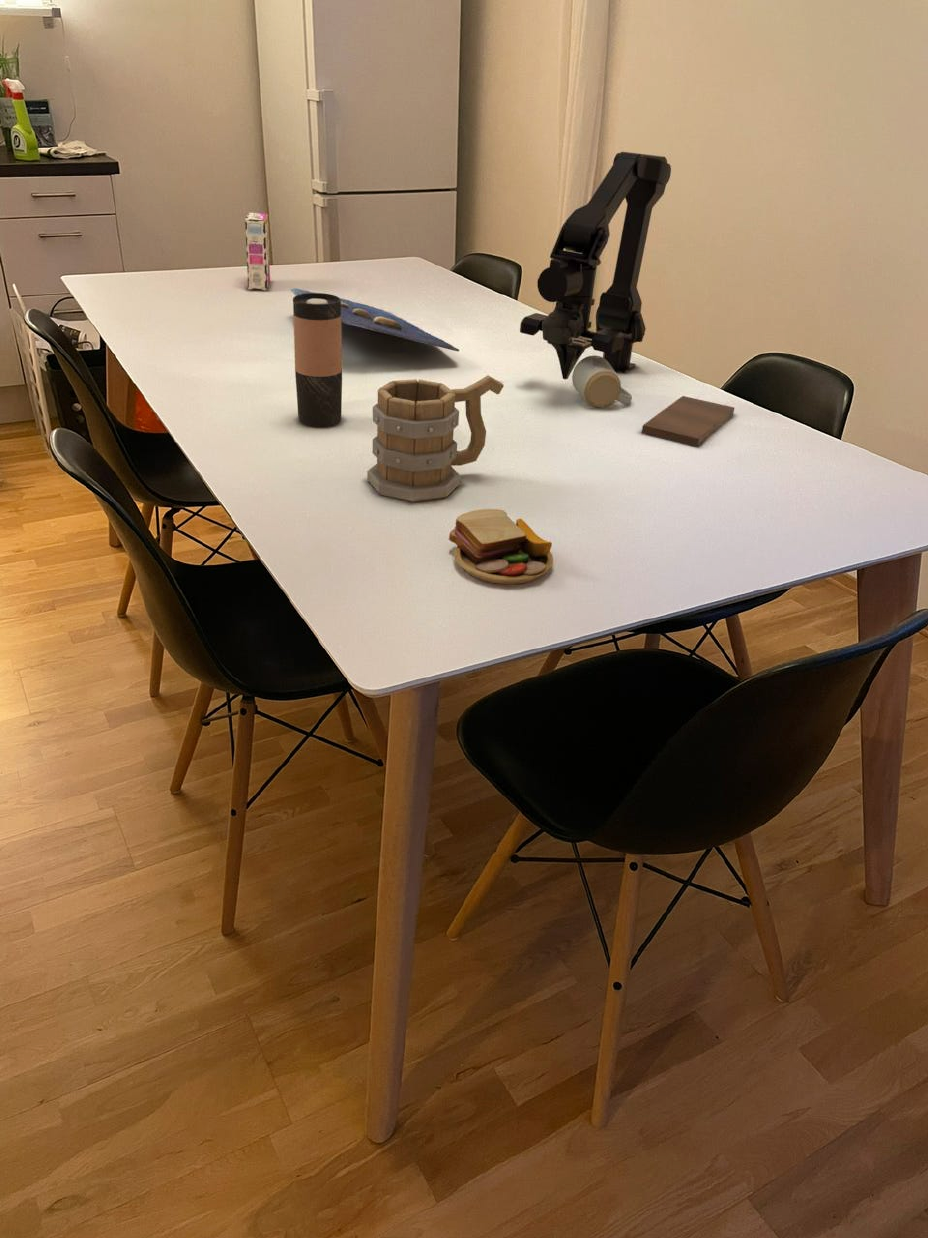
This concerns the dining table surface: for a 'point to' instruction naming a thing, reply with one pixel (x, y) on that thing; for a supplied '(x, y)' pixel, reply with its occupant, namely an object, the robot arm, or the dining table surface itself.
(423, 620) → the dining table surface
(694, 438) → the walnut board
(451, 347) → the serving platter
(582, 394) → the ceramic mug
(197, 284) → the dining table surface
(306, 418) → the travel mug
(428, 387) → the tankard
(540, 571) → the toy sandwich meal
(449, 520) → the dining table surface
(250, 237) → the candy bar box
